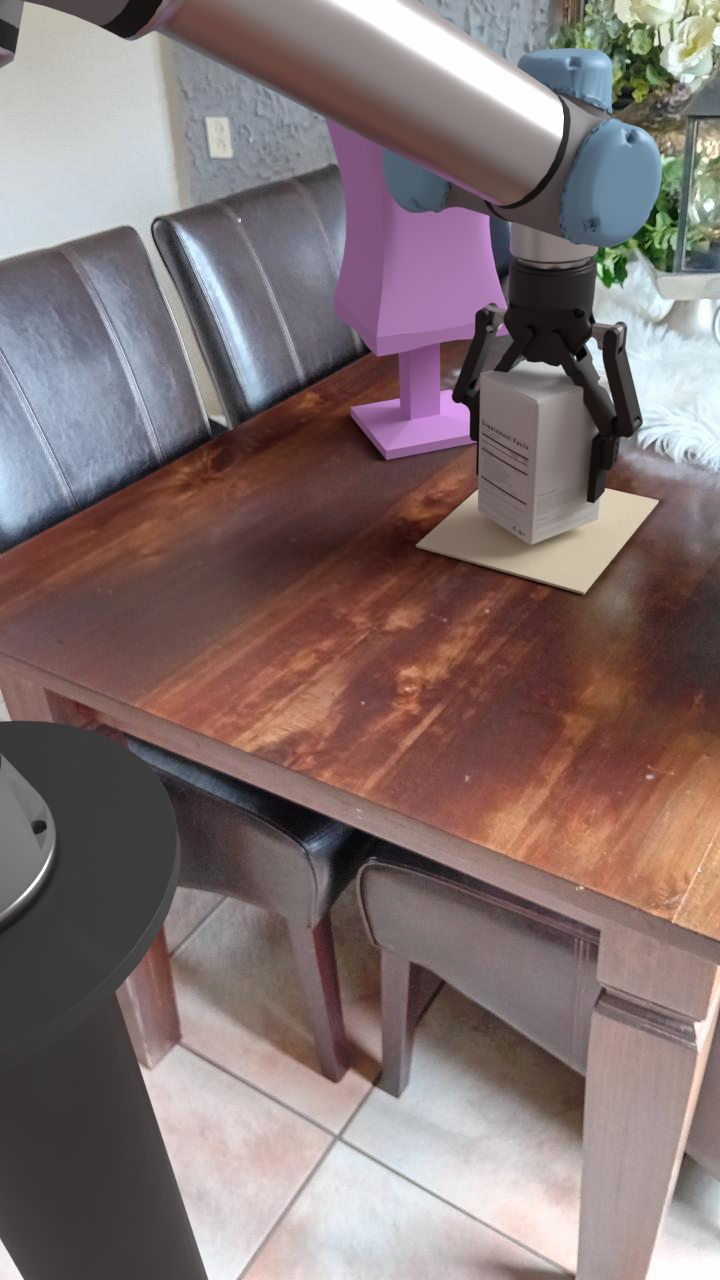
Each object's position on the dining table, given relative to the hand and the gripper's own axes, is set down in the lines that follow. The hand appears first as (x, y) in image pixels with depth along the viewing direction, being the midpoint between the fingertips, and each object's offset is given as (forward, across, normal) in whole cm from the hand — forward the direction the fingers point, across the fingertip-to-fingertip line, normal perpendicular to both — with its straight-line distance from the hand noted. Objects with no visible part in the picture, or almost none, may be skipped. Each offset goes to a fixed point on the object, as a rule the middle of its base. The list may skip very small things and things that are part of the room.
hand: (539, 483), depth 100 cm
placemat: (+5, 0, -1) cm, 5 cm away
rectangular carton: (+4, 0, 0) cm, 4 cm away
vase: (+5, +23, -16) cm, 29 cm away
